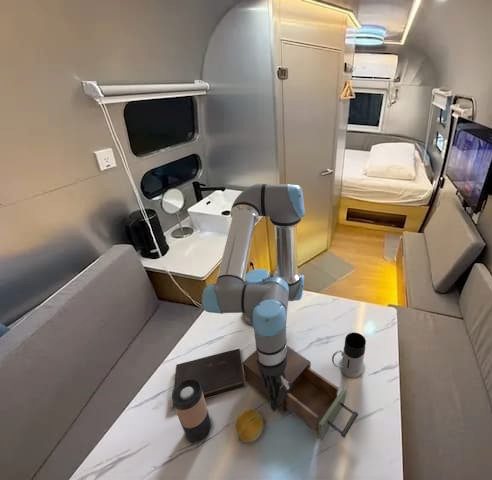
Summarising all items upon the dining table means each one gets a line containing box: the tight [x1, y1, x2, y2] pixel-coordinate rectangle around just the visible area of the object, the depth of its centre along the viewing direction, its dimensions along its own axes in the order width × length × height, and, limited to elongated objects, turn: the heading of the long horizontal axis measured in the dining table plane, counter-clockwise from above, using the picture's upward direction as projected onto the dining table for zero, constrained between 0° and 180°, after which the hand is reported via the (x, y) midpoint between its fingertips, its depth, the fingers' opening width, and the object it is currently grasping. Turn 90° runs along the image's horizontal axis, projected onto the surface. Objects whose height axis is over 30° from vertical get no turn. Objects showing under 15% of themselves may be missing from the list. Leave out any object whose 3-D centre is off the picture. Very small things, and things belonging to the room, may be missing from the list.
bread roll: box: [234, 408, 265, 443], centre depth 86 cm, size 8×9×4 cm
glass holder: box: [331, 332, 367, 378], centre depth 102 cm, size 9×14×15 cm, turn 121°
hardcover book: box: [172, 348, 246, 409], centre depth 100 cm, size 16×23×2 cm
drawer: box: [284, 367, 359, 441], centre depth 89 cm, size 24×14×8 cm, turn 54°
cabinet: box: [241, 344, 312, 413], centre depth 99 cm, size 19×15×10 cm
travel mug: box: [171, 379, 212, 443], centre depth 81 cm, size 8×8×20 cm
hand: (276, 406), depth 82 cm, fingers closed
